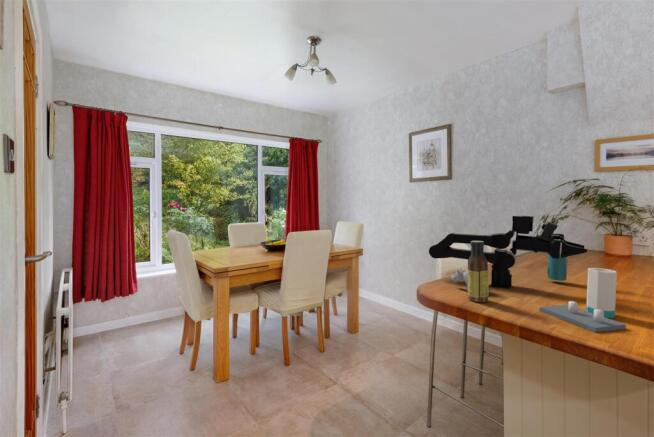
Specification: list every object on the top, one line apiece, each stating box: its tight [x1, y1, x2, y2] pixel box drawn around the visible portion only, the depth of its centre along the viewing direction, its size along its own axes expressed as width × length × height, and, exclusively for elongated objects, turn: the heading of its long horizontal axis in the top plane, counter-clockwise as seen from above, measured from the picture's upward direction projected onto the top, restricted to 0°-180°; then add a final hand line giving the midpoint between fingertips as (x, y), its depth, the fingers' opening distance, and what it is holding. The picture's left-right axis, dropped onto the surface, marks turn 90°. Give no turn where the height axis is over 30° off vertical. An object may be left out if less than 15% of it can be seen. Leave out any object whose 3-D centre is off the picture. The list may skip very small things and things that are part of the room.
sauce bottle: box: [467, 241, 489, 303], centre depth 105 cm, size 7×6×20 cm
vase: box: [585, 267, 618, 319], centre depth 92 cm, size 6×6×13 cm
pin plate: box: [539, 300, 627, 333], centre depth 88 cm, size 16×10×4 cm, turn 12°
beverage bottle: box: [547, 233, 568, 282], centre depth 128 cm, size 6×7×20 cm
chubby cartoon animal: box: [450, 268, 468, 292], centre depth 118 cm, size 7×12×8 cm, turn 48°
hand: (585, 248), depth 108 cm, fingers open, 9 cm apart
